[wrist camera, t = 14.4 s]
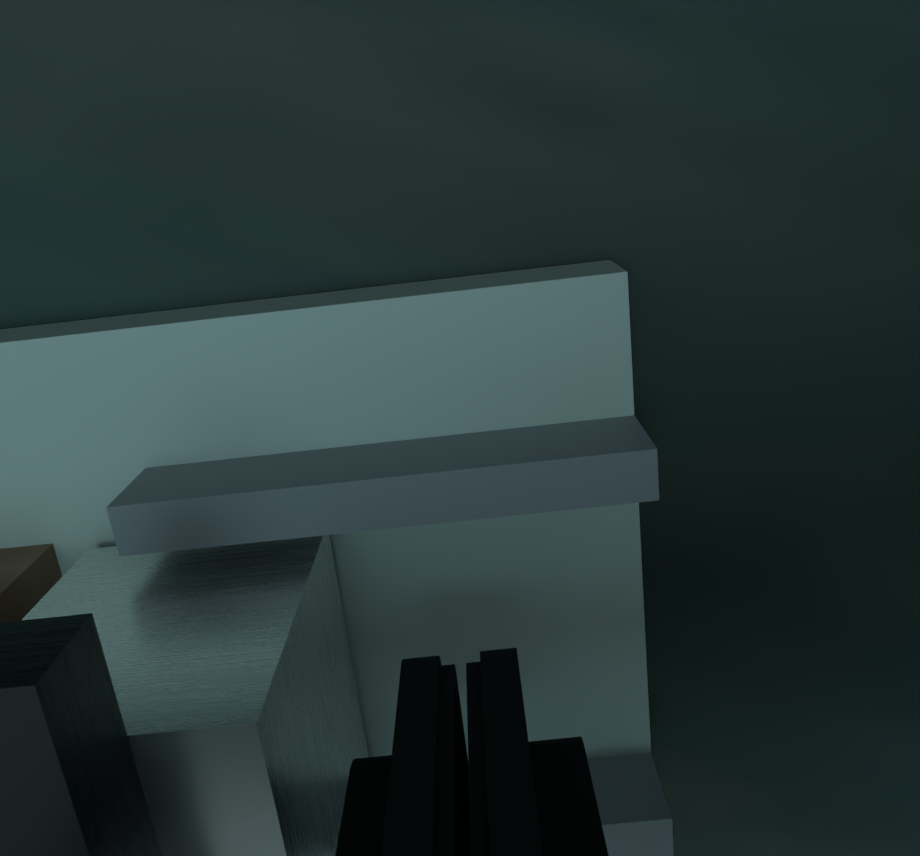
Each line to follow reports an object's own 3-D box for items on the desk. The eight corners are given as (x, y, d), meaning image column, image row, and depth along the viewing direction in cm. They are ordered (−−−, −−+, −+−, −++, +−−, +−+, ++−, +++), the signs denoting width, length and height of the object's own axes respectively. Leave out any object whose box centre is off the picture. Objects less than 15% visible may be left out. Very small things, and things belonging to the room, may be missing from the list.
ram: (311, 438, 13) (191, 669, 7) (382, 837, 16) (337, 1253, 10) (64, 464, 13) (-254, 714, 7) (174, 857, 16) (3, 1278, 10)
